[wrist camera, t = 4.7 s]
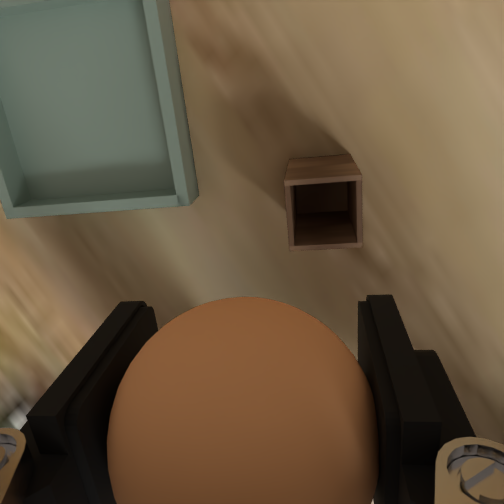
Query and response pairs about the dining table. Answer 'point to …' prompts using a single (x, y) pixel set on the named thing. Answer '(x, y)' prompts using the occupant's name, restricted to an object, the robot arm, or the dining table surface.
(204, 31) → the dining table surface
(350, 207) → the wooden box
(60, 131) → the tray
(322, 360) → the ball
